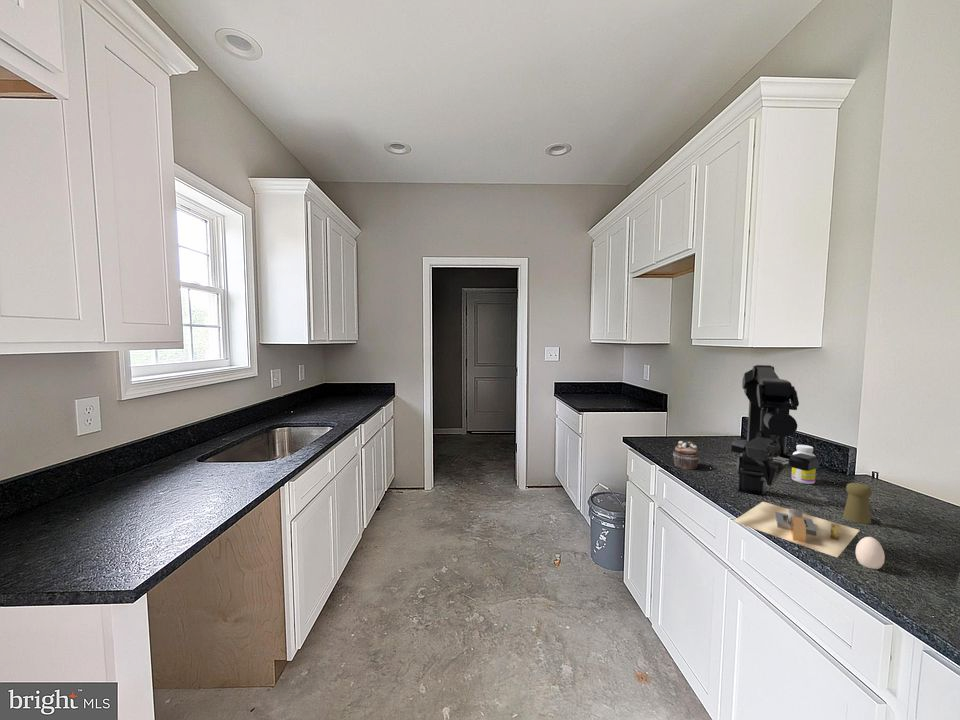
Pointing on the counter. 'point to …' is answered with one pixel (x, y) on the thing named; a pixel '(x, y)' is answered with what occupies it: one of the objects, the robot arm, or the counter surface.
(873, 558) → the egg
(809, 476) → the supplement bottle
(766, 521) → the board
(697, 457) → the cupcake
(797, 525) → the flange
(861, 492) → the cork
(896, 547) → the counter surface
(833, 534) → the dowel pin
